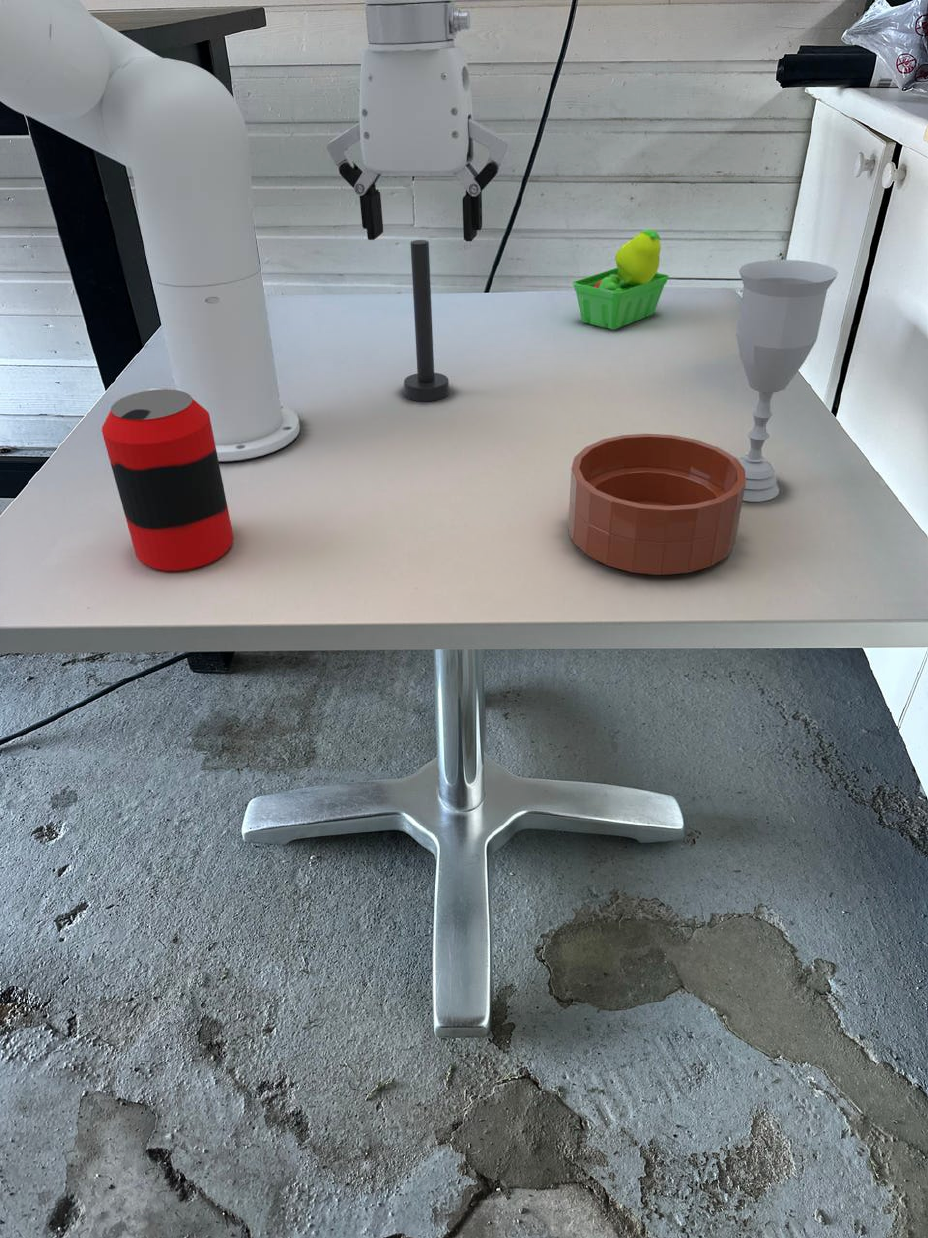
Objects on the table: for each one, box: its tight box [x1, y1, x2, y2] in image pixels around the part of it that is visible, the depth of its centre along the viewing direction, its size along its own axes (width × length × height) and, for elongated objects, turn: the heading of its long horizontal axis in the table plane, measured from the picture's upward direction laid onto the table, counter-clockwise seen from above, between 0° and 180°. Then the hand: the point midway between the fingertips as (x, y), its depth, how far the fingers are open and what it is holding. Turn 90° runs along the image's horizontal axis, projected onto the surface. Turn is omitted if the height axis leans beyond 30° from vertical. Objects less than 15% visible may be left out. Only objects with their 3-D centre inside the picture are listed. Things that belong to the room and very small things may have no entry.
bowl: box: [567, 433, 746, 576], centre depth 69 cm, size 13×13×6 cm
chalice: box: [735, 259, 839, 503], centre depth 72 cm, size 7×7×18 cm
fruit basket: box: [572, 228, 670, 331], centre depth 113 cm, size 11×9×11 cm
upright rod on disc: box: [403, 239, 450, 402], centre depth 92 cm, size 5×5×16 cm
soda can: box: [101, 388, 234, 572], centre depth 67 cm, size 8×8×12 cm
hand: (422, 237), depth 87 cm, fingers open, 9 cm apart
